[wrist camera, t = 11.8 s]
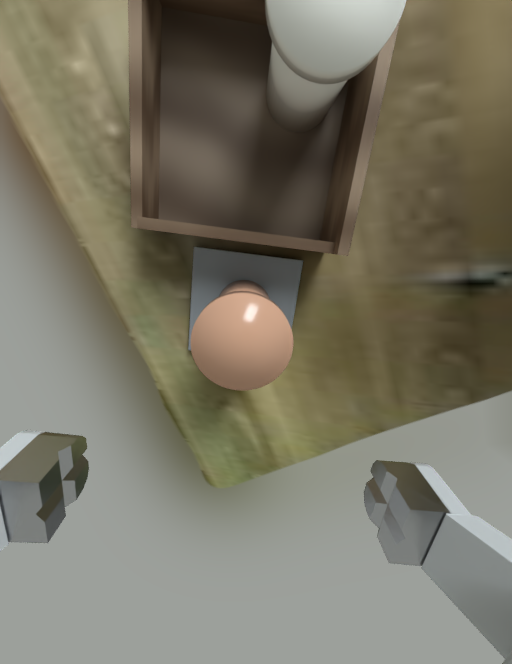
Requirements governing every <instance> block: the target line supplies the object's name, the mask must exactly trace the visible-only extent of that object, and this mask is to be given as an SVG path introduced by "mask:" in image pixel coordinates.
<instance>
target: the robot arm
mask: <svg viewBox="0 0 512 664" xmlns="http://www.w3.org/2000/svg"><path fill="white" fill-rule="evenodd" d="M86 449H87V443H86V438H85V437H83V436H78V435H69V434H60V433H50V432H37V431H28V430H25V431H22V432H19V433H17V434H16V435H15V436H14V437H13V438H11V439H10V440H9V441H8V442H7V443H5V444H4V445H3V446H2V447H1V448H0V550H2V549H3V548H5V547H6V546H7V545H8V544H9V542H27V543H28V542H29V543H48V542H49V541H50V539H51V537H52V536H53V535H54V533H55V531H56V530H57V529H58V527H59V525H60V524H61V523H62V521H63V519H64V518H65V516H66V513H65V507H66V506H68V505H69V504H70V503H72V502H74V501H75V500H77V498H78V496H79V495H80V493H81V492H82V490H83V488H84V485H85V483H86V480H87V477H88V470H89V465H88V461H87V459H86V458H85V457H84V456H83V455H82V454H83V453H84V452H85V450H86ZM371 473H372V475H373V478H372V479H371V480H370V481H368V482H367V483H366V487H365V491H364V501H365V502H364V503H365V507H366V511H367V513H368V516H369V518H370V520H371V521H372V522H373V523H374V524H375V525H376V526H377V527H378V528H379V531H378V535H377V537H378V539H379V542H380V544H381V546H382V548H383V551H384V553H385V555H386V557H387V560H388V562H389V563H394V564H404V565H415V566H422V569H423V570H424V572H425V573H426V574H427V575H428V576H429V577H430V578H431V579H432V580H433V581H434V582H435V583H436V585H437V586H438V587H439V588H440V589H441V590H442V591H443V592H444V593H445V594H446V595H447V596H448V598H449V599H450V600H451V601H452V602H453V603H454V604H455V605H456V606H457V607H458V608H459V609H460V611H461V612H462V613H463V614H464V615H465V616H466V617H467V618H468V619H469V620H470V621H471V623H472V624H473V625H474V626H475V627H476V628H477V629H478V630H479V631H480V632H481V633H482V634H483V636H484V637H485V638H486V639H487V640H488V641H489V642H490V643H491V644H492V645H493V646H494V648H496V650H497V651H498V652H499V653H500V654H501V655H502V656H503V657H504V658H505V660H504V662H503V663H502V664H512V539H511V538H509V537H508V536H506V535H505V534H504V533H502V532H500V531H499V530H498V529H496V528H495V527H493V526H492V525H490V524H489V523H487V522H486V521H484V520H483V519H481V518H480V517H478V516H474V515H471V514H470V513H469V511H468V510H467V509H466V508H465V506H464V505H463V504H462V503H461V501H460V500H459V499H458V498H457V496H456V495H455V494H454V493H453V492H452V490H451V489H450V488H449V487H448V486H447V484H446V483H445V482H444V480H443V479H442V478H441V477H440V475H439V474H438V473H437V472H436V471H435V469H434V468H433V467H432V466H430V465H429V464H426V463H406V462H393V461H378V460H377V461H375V462H374V463H373V465H372V468H371Z"/></svg>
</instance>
